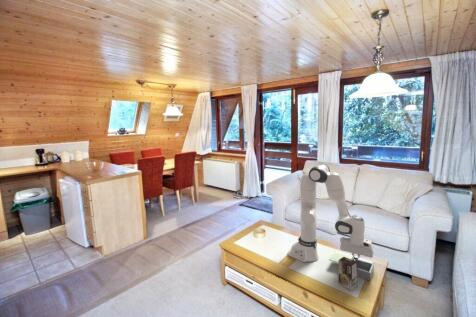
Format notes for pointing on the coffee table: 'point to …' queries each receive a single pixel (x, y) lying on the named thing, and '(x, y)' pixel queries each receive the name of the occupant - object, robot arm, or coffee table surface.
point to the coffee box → (347, 273)
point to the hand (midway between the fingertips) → (355, 259)
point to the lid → (339, 257)
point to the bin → (364, 269)
